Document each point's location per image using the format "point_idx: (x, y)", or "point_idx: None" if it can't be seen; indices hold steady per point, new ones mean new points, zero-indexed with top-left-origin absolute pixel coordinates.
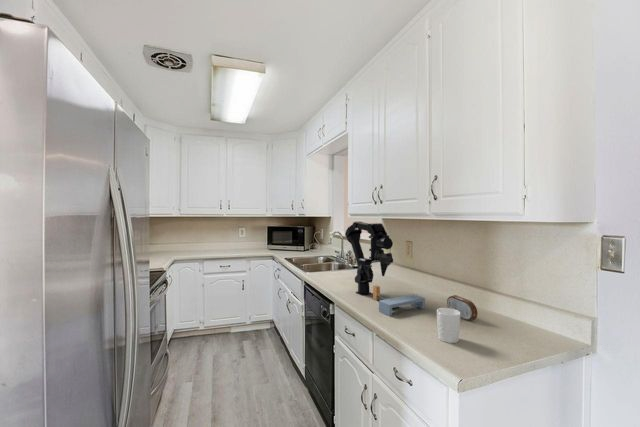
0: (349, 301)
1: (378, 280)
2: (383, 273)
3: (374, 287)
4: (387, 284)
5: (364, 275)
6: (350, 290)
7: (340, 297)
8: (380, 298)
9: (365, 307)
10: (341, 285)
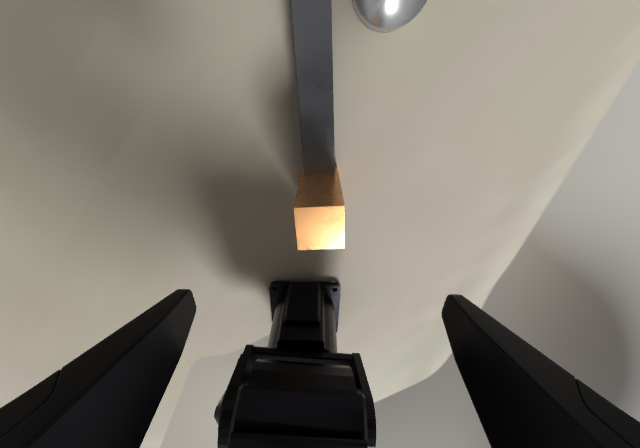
0: (487, 236)
1: None
2: (168, 324)
3: (344, 227)
4: None
5: (345, 407)
6: None
7: None
8: (333, 131)
9: (525, 79)
10: None
